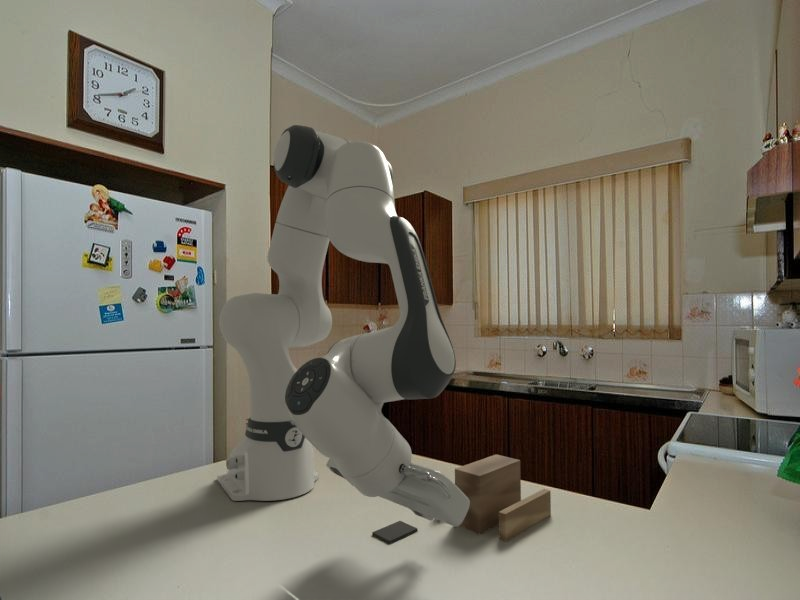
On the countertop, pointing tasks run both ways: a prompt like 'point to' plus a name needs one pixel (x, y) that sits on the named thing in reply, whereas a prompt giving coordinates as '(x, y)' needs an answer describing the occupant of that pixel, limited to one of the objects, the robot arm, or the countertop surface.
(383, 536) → the mat
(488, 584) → the countertop surface
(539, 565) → the countertop surface
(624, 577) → the countertop surface
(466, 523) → the walnut block
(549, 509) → the channel
